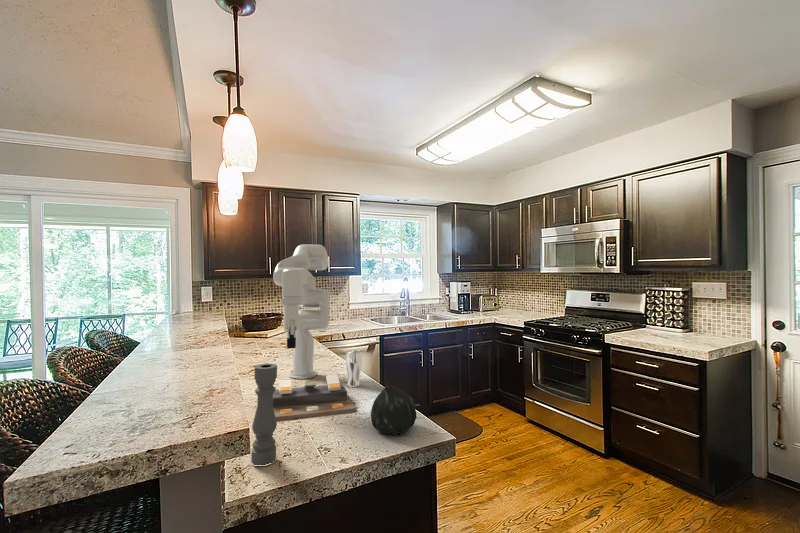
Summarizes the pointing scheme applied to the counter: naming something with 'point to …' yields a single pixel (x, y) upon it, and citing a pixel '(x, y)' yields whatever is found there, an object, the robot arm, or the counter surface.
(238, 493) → the counter surface
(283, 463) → the counter surface
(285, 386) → the plate
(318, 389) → the switch unit
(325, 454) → the counter surface
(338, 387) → the block
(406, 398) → the squash
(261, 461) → the candle holder
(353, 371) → the beige tall curved piece
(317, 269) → the robot arm
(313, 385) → the block
